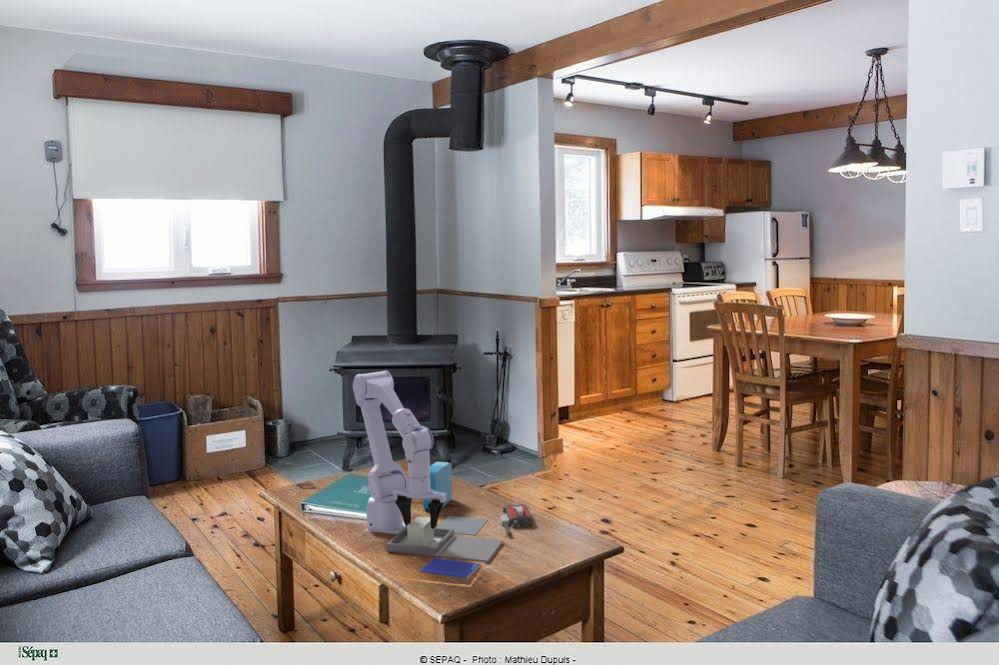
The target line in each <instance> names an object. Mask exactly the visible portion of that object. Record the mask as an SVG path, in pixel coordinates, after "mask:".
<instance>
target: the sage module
mask: <svg viewBox="0 0 999 665" xmlns="http://www.w3.org/2000/svg"><path fill="white" fill-rule="evenodd" d="M407 532H408V545H417V546H428V545H429V544H430V543H431V542H432V541H433V540H434V529H431V522H430V517H429V516H428V517H427V516H418V515H417V517H415V518H414V519H413V520H411V523H410V524H408V526H407Z"/></svg>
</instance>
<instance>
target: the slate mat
mask: <svg viewBox="0 0 999 665" xmlns="http://www.w3.org/2000/svg"><path fill="white" fill-rule="evenodd" d="M487 522H489V519H488V518H487V519H486V518H477V517H476V518H475V517H465V516H454V515H453V516H452V515H448V516H447V517H446V518H445V519H444V520H443V521H442V522H441V523H440V524H439V525H437V526H436V528H445V529H454V535H455V534H457V535H466V536H468V535H469V536H476V535H477V534H478V533H479V531H481V529H483V527H484V526H485V525H486V523H487Z"/></svg>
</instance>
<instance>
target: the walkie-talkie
mask: <svg viewBox="0 0 999 665" xmlns="http://www.w3.org/2000/svg"><path fill="white" fill-rule="evenodd" d="M502 512H503V514H501V515H500V523H501V524H500V525H501V526H502V527H503V528H504V529H505V531H506V534H507V535H508V536H511V535H512V532H511V530H510V527H511V528H512V529H513V528H522V527H525V528H528V527H532V526H533V521H534V519H533V517H532V514H531V513H530V510H529V509H528V506H527V505H526V504H524V503H508V504H506V505H505V506H504V507H503V509H502ZM509 526H510V527H509Z"/></svg>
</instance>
